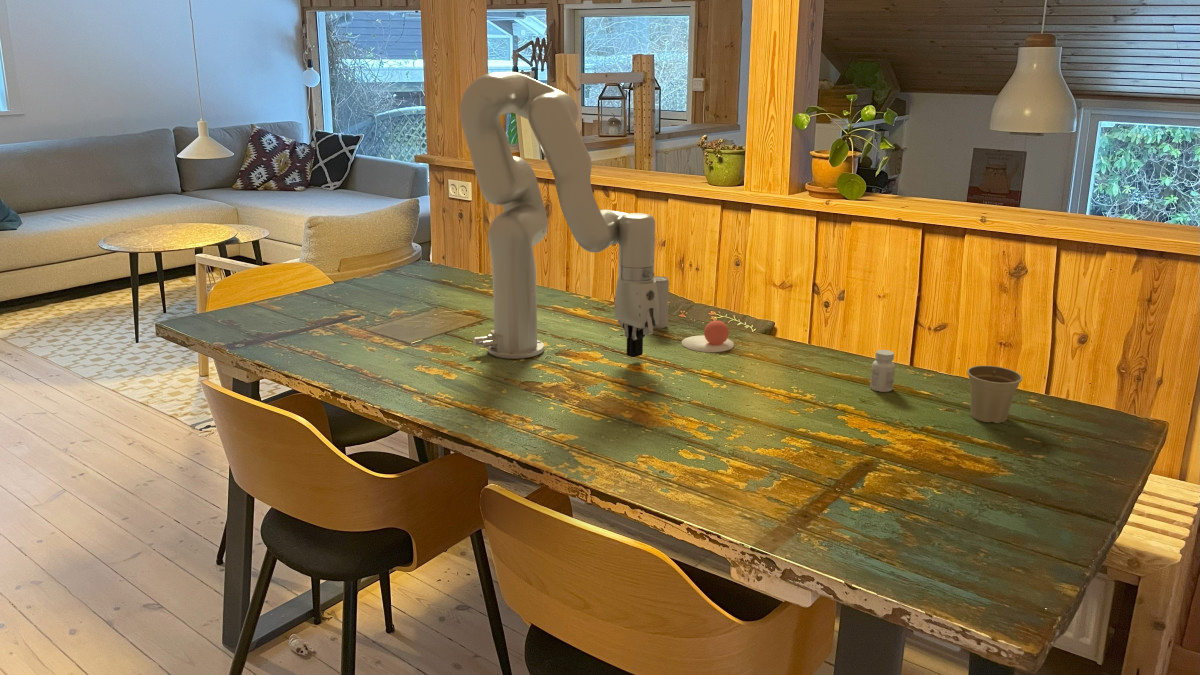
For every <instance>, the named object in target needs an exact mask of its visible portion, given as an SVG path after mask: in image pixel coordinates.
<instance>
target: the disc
mask: <svg viewBox="0 0 1200 675" xmlns="http://www.w3.org/2000/svg"><path fill="white" fill-rule="evenodd" d="M681 345H682V347H684V348H686V349H687V350H691V351H695V352H703V353H721V352H726V351H729V350H732V349H733V348H734V347H735V343H734V341H733V340H731V339H729V338H727V340H726V341H725V342H724V343H722V344H720V345H713V344H711V343H709V342H708V341H707V340H706V338H705V336H704V334H703V335H694V336H689V337H685V338H684V339H682V341H681Z"/></svg>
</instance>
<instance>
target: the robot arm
mask: <svg viewBox="0 0 1200 675" xmlns="http://www.w3.org/2000/svg"><path fill="white" fill-rule="evenodd" d="M459 104H460V105H459V118H460V122H461V123H460V124H461V128H462V131H463V134H464V136H465V139H466V140H465V141H466V144H467V147H468V150H469V155H470V158H471V162H472V165H473V170H474V172H475V176H476V179H477V183H478V186H479V190H480V193H481V194H482V197H483V199H485V201H486V202H488V203H490V205H495V206H502V209H503V211H502V212H501V213H499V214H498V215H496V217H495V218H494V219H493V220H492V221H491V223H490V226H489V229H488V233H487V234H488V235H487V237H488V238H487V240H488V241H487V242H488V247H489V252H490V258H491V259H490V260H491V270H492V289H493V290H492V293H493V297H492V298H493V326H494V329H491V330H490V331H489V332H490V333H489V334H486V336H475V337H474V336H473V338H472V341H473V342H472V343H473V345H474V346H475V347H478V346H482V347H483V348H487V352H488V353H489V354H490V355H492V356H494V357H497V358H500V359H501V358H502V359H511V360H512V359H514V360H515V359H516V360H517V359H527V358H528V359H529V358H533V357H535V356H536V357H537V356H539V355H540V354H542V353H543V352H544V351H545V343H543V342H542V341H541V340H539V339H538V309H537V308H538V307H537V306H538V305H537V303H538V298H537V296H538V295H537V289H538V288H537V286H538V285H537V266H536V259H535V254H534V246H536V245H537V244H539V243H540V242H541V241H542V240H544V238H545V236H546V235H547V233H548V228H549V221H548V216H547V210H546V207H545V204H544V201H543V197H542V193H541V189H540V186H539V182H538V179H537V176H536V173H535V172H534V168H532V166H531V165H530V163H529V162H527V161H526V160H525V159H524V158H522V157H519V156H515V155H513V153H512V149H511V147H510V142H509V138H508V135H507V132H506V130H505V129H504V127H503V125H502V123H501V116H502V115H504V114H505V115H506V114H515V115H517V116H520V117H521V118H524V119H527V120H528V123H529V126H530V128H531V130H532V132H533V134H534V137H535V138H536V140H537V143H538V144H539V146H540V148H541V150H542V153H543V156H544V157H545V159H546V161H547V163H548V166H549V168H550V170H551V172H552V175H553V177H554V184H555V189H556V193H557V197H558V198H557V199H558V202H559V206H560V208H561V209H560V210H561V213H562V214H563V217H564V220H565V222H566V224H567V226H568V227H569V230H570V232H571V234H572V235H573V238H574V240H575V241H576V242H577V244H578V245H579V247H581V248H582V250H585V251H586V252H589V253H595V254H596V253H600V252H603V251H604V250H607V248H609V247H611V246H613V245H615V244H617V245H618V263H617V264H618V265H617V266H618V270H617V272H618V273H617V274H618V275H617V276H618V277H617V281H616V287H615V295H614V315H615V316H614V317H615V319H616V320H617V323H618V324H619V325H620V326H621V327H622V328H623V329H624V336H625V338H626V356H628V357H630V358H635V357H640V356H643V354H644V353H643V351H644V350H643V349H644V339H645V338H646V336H647V335H653V334H654V328H653V326H656V325H658V323H659V302H658V291H657V285H656V281H654V277H655V250H656V249H655V246H656V219H655V218H654V216H653V215H651V214H649V213H643V212H642V213H641V212H629V213H628V212H621V211H616V210H614V209H613V210H612V209H600V208H599V206H598V204H597V201H596V199H595V196H594V193H593V190H592V183H591V180H592V179H591V175H592V174H591V173H592V165H593V164H592V158H591V155H590V154H589V151H588V149H587V147H586V145H585V142H584V141H583V138H582V136H581V134H580V132H579V130H578V128H577V126H576V124H577V121H578V119H579V118H578V117H579V109H578V106H577V102H576V101H575V100H574V98H573V97H572V96H571V95H569V94H568V93H566V92H564V91H563V90H559V89H557V88H555V87H553V86H550V85H548V84H546V83H543V82H541V81H539V80H536V79H534V78H532V77H530V76H527V75H525V74H522V73H521V72H517V71H495V72H488V73H486V74H485V73H484V74H483V75H481V76H479V77H477V78H476V79H475V80H473V81H472V82H471V83H470V84H469V85H468V87H467V88H466V89H465V91H464V93H463V95H462V97H461V100H460V103H459ZM652 325H653V326H652Z"/></svg>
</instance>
